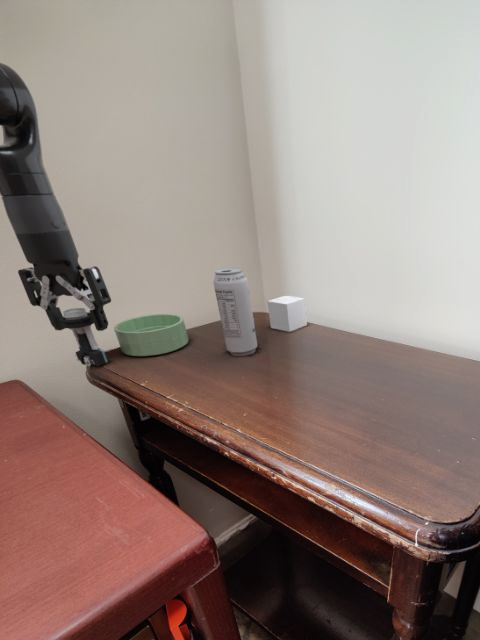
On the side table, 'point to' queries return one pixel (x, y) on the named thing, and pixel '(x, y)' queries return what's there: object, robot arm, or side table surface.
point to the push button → (84, 337)
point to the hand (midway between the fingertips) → (81, 329)
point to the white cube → (287, 313)
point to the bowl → (151, 334)
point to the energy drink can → (235, 311)
